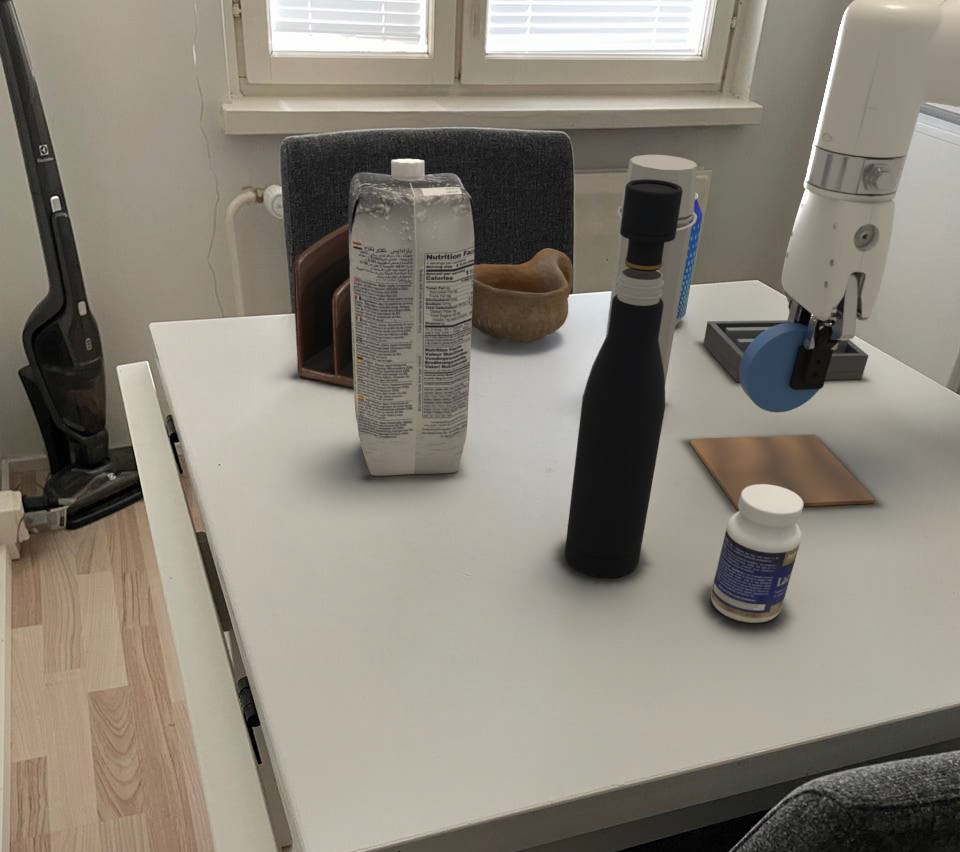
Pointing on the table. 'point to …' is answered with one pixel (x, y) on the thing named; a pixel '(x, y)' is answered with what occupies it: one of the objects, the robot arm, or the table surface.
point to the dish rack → (737, 335)
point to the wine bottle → (624, 397)
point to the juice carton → (411, 317)
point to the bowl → (522, 297)
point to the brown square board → (781, 468)
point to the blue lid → (774, 368)
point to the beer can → (689, 262)
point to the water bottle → (673, 251)
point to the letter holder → (324, 310)
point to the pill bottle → (758, 554)
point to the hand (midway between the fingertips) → (799, 380)
